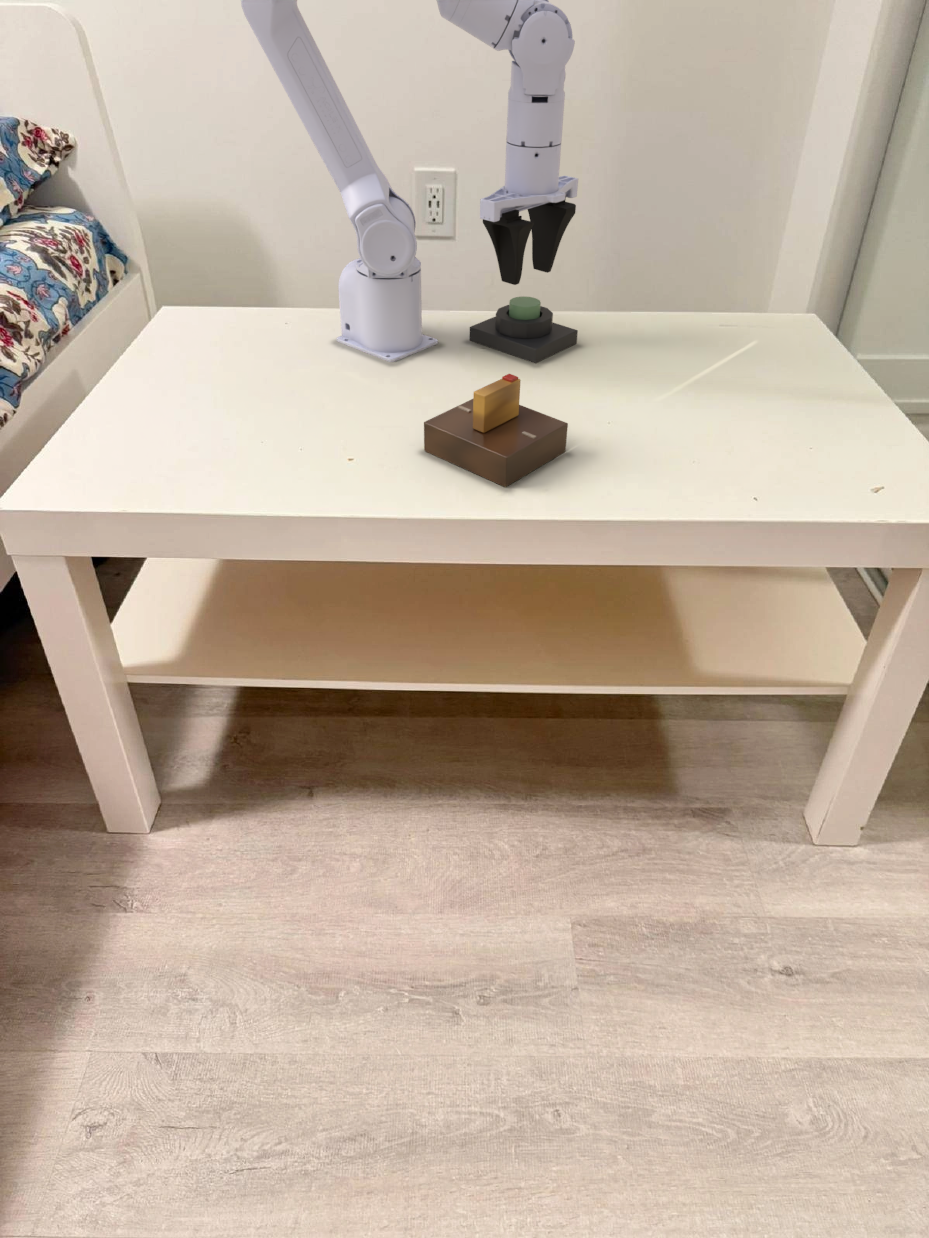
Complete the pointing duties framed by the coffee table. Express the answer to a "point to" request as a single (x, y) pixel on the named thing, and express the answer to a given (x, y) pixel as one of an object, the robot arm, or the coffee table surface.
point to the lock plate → (496, 442)
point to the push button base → (524, 335)
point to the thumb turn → (496, 403)
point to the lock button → (524, 308)
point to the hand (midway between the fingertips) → (526, 276)
